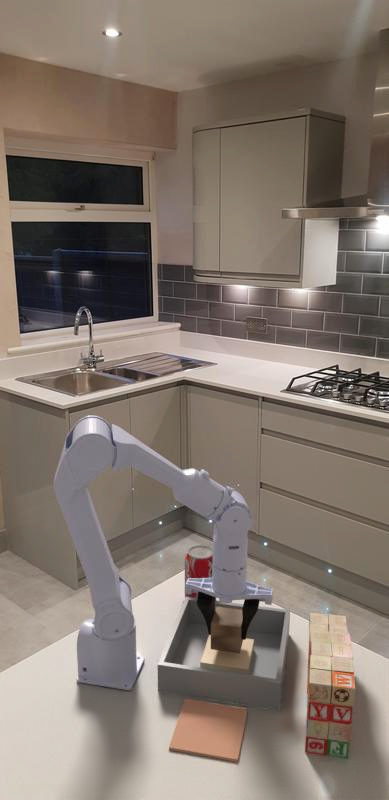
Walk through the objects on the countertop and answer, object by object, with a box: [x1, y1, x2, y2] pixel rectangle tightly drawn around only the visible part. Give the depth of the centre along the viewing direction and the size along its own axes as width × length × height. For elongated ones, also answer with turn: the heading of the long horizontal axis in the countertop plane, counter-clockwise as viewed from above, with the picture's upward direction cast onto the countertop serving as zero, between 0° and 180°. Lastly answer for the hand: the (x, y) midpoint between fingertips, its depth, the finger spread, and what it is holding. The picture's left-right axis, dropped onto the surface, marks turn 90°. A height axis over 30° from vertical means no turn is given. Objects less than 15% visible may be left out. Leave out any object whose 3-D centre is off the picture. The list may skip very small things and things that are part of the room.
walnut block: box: [211, 607, 243, 653], centre depth 110 cm, size 5×5×5 cm
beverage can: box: [184, 544, 217, 601], centre depth 126 cm, size 6×6×12 cm
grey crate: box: [157, 596, 291, 711], centre depth 111 cm, size 20×20×6 cm
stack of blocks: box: [304, 612, 356, 760], centre depth 100 cm, size 21×6×12 cm, turn 170°
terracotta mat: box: [168, 698, 249, 763], centre depth 96 cm, size 10×10×1 cm
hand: (227, 633), depth 110 cm, fingers closed on walnut block, 5 cm apart
